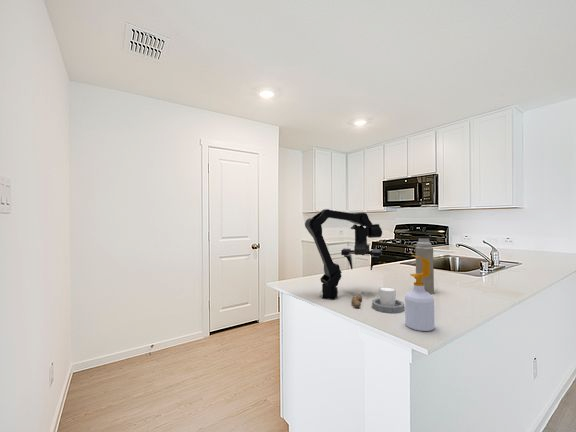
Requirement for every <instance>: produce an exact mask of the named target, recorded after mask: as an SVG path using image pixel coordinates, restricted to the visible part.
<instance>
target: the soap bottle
mask: <svg viewBox="0 0 576 432" xmlns="http://www.w3.org/2000/svg"><path fill="white" fill-rule="evenodd" d="M411 257H414V258H416V257H417V258H420V259H421V260H422V273H420V274H416V273H410V276H411V277H413V278H414V279H415V281H414V282H413V289H411V290H409V291H408V292H407V293H406V294H405V295H404V312H405V313H404V315H405V325H406V326H407V327H408V328H410V329H412V330H415V331H420V332H430V331H434V330H435V327H436V326H435V299H434V296H433V294H429V293H428V292H426V291H425V290H424V283H422V279H423V277H429V276H430V261H429V260H428V259H425V258H422V257H418V256H416V254H415V255H414V254H411Z"/></svg>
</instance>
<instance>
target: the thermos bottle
mask: <svg viewBox="0 0 576 432" xmlns="http://www.w3.org/2000/svg"><path fill="white" fill-rule="evenodd" d="M432 246H433V245H432V243H431V241H430V236H427V235H420V236H418V242H416V246H415V250H414V251H415V256H418V257H422V258H425V259H428V260H429V261H430V276H429V277H423V279H422V283H424V290H425V291H426V292H428V293H429V294H431V295H433V294H434V293H435V279H434V278H435V276H434V273H435V271H434V247H432ZM420 273H422V260H421V259H420V258H417V257H415V274H420Z"/></svg>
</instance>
